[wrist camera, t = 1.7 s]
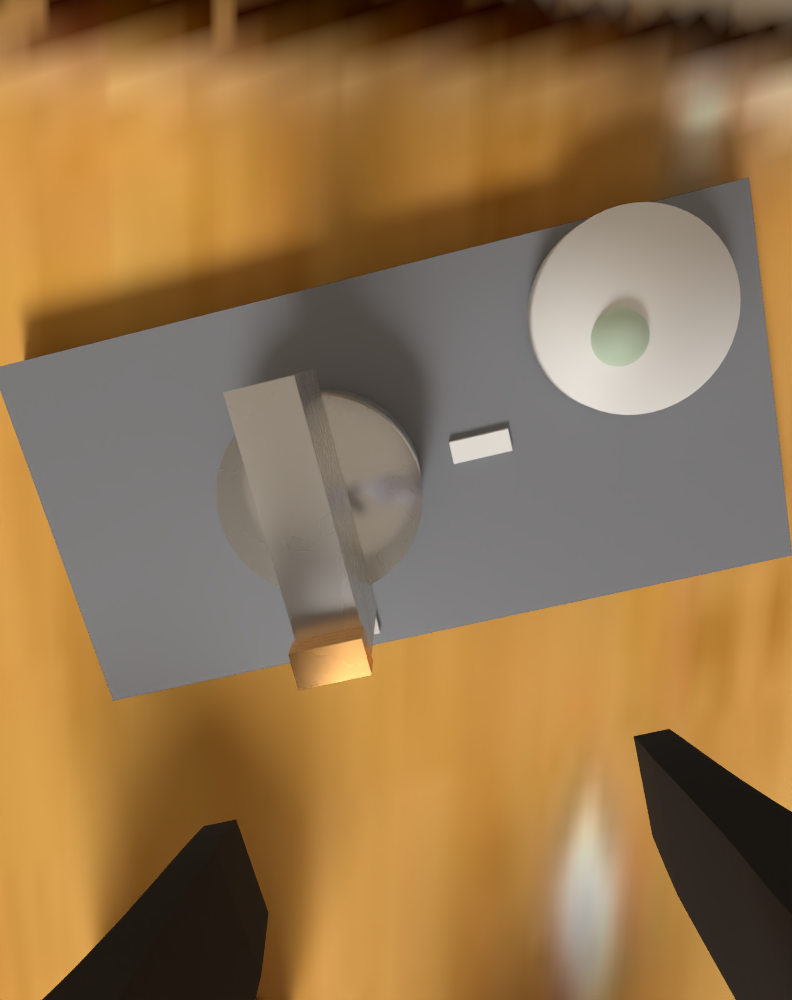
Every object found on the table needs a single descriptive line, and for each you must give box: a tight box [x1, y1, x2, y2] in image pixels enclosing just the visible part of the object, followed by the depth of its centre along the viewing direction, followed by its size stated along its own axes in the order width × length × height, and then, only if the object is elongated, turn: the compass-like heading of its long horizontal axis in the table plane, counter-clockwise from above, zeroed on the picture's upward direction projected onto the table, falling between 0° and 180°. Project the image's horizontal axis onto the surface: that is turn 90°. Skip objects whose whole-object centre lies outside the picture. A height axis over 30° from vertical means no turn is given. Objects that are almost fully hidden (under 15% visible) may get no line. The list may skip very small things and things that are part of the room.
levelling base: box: [0, 178, 792, 701], centre depth 18 cm, size 20×10×3 cm, turn 103°
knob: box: [216, 369, 423, 690], centre depth 16 cm, size 6×5×6 cm
